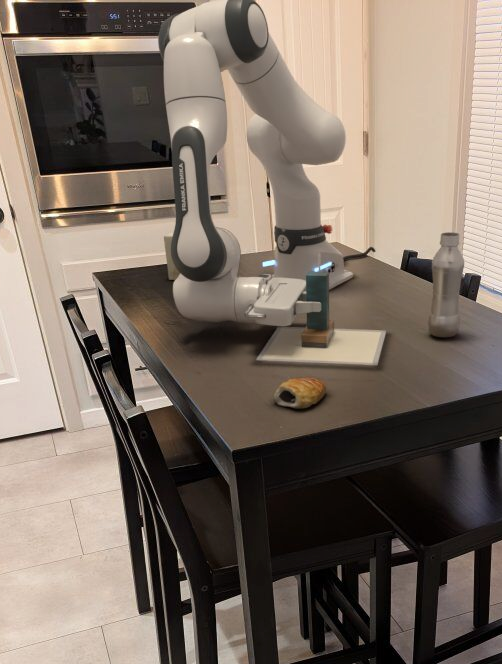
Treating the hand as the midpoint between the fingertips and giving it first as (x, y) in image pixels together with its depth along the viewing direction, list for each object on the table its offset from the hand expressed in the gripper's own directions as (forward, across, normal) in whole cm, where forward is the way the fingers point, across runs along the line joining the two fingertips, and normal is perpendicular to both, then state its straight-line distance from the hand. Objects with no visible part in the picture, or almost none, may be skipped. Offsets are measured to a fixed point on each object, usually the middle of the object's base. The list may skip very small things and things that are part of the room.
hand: (323, 303), depth 141 cm
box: (-46, +46, +8) cm, 66 cm away
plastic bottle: (+24, +7, +8) cm, 26 cm away
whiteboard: (0, -3, +8) cm, 9 cm away
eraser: (-1, 0, +7) cm, 7 cm away
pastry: (+1, -29, +8) cm, 30 cm away
